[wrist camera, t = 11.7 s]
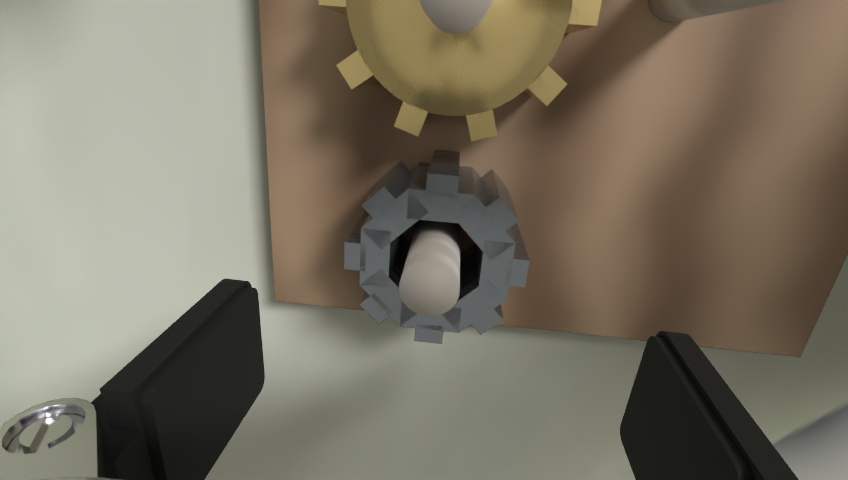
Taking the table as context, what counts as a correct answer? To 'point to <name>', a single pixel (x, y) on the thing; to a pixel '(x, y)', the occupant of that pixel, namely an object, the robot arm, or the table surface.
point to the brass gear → (459, 56)
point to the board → (593, 169)
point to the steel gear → (444, 202)
